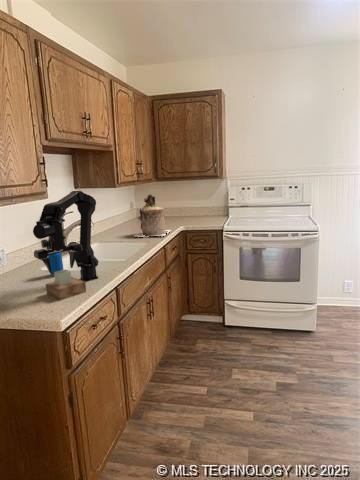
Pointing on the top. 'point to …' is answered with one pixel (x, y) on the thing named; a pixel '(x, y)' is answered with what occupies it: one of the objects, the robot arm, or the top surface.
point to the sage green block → (62, 277)
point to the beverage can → (56, 262)
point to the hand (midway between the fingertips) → (61, 270)
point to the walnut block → (66, 289)
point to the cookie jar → (151, 219)
